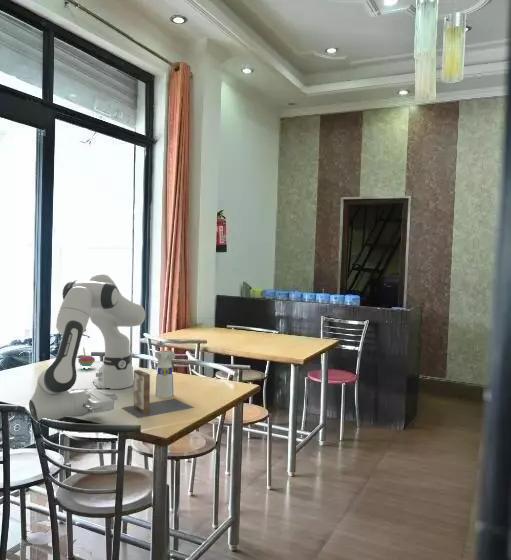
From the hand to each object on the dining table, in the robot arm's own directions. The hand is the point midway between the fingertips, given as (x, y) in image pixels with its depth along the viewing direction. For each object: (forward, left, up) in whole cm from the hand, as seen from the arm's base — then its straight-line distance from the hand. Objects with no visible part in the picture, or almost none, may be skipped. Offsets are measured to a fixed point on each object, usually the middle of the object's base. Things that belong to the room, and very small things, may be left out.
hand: (116, 396), depth 182 cm
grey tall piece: (-15, +28, -8) cm, 33 cm away
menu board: (0, +10, -7) cm, 12 cm away
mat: (0, +17, -7) cm, 19 cm away
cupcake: (-90, +19, -8) cm, 92 cm away
